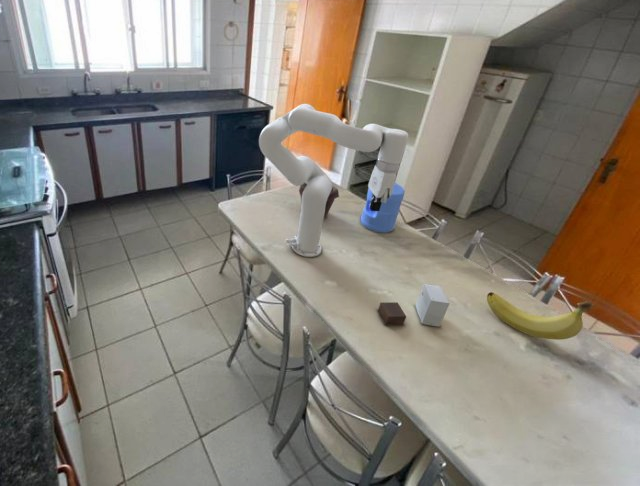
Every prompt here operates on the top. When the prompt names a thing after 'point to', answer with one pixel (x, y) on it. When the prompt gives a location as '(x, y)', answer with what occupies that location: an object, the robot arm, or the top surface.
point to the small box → (432, 305)
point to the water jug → (383, 211)
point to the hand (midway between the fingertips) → (374, 209)
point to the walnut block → (391, 313)
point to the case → (330, 198)
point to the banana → (539, 319)
